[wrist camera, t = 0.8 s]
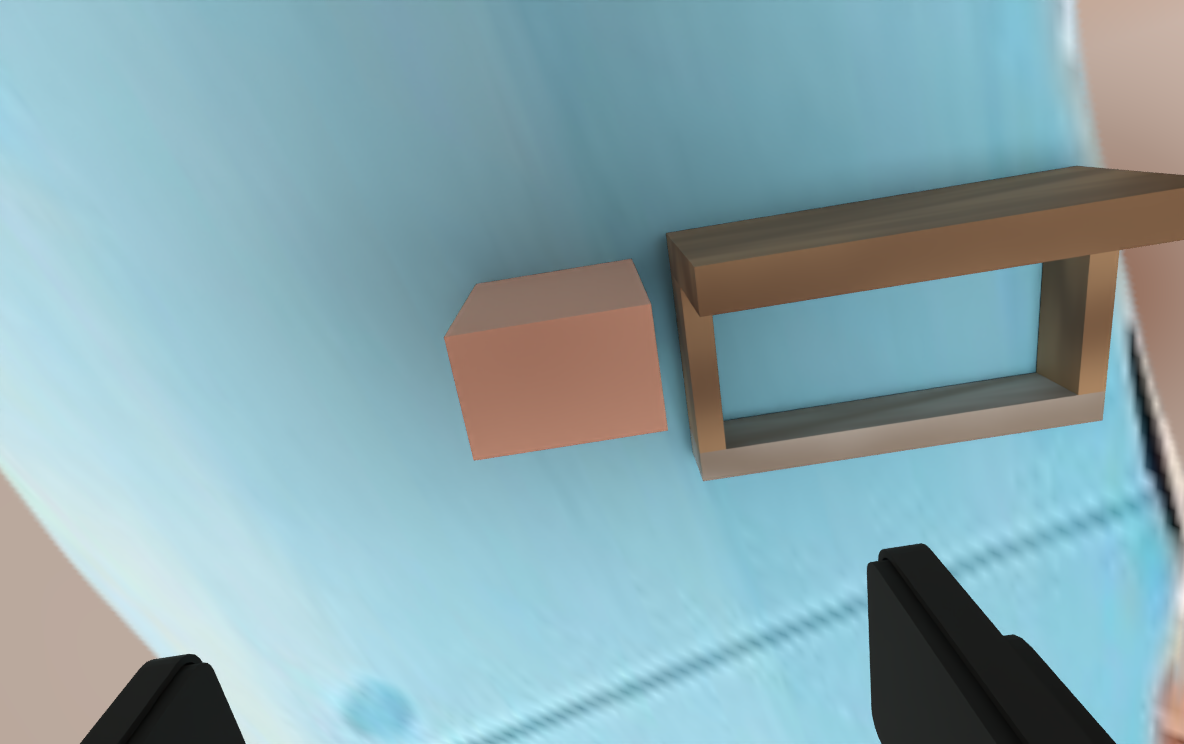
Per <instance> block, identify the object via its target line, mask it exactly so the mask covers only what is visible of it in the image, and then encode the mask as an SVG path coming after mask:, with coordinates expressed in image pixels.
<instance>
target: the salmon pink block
mask: <svg viewBox="0 0 1184 744" xmlns="http://www.w3.org/2000/svg"><path fill="white" fill-rule="evenodd" d="M444 339H445V343H446V348H447V352H448V356H449V360H450V364H451V368H452V372H453V376H454V381H455V385H456V389H457V393H458V397H459V401H460V405H461V410H462V414H463V418H464V422H465V426H466V430H467V434H468V438H469V443H470V447H471V451H472V455H473V459H474V460H481V459H487V458H494V457H500V456H506V455H513V454H519V453H526V452H532V451H539V450H545V449H551V448H558V447H564V446H571V445H577V444H584V443H590V442H596V441H603V440H609V439H616V438H622V437H629V436H635V435H642V434H648V433H654V432H661V431H667V430H668V427H667V420H666V412H665V405H664V398H663V390H662V383H661V375H660V368H659V360H658V353H657V345H656V338H655V330H654V323H653V315H652V308H651V303H650V300H649V298H648V296H647V293H646V291H645V289H644V286H643V284H642V282H641V279H640V277H639V275H638V272H637V270H636V268H635V265H634V263H633V261H632V259H626V260H620V261H614V262H608V263H602V264H596V265H590V266H583V267H577V268H571V269H565V270H559V271H553V272H547V273H540V274H534V275H528V276H522V277H516V278H510V279H504V280H498V281H491V282H485V283H479V284H476V285H475V286H474V288H473V290H472V291H471V293H470V295H469V296H468V298H467V300H466V301H465V303H464V305H463V306H462V308H461V310H460V311H459V313H458V315H457V316H456V318H455V320H454V321H453V323H452V325H451V326H450V328H449V330H448V331H447V333H446V335H445V336H444Z"/></svg>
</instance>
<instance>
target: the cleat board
mask: <svg viewBox="0 0 1184 744" xmlns="http://www.w3.org/2000/svg"><path fill="white" fill-rule="evenodd" d="M666 237H667V245H668V253H669V262H670V270H671V278H672V286H673V294H674V303H675V311H676V319H677V327H678V335H679V344H680V352H681V360H682V368H683V376H684V385H685V393H686V401H687V409H688V417H689V425H690V434H691V442H692V450H693V454H694V457H695V460H696V463H697V465H698V468H699V471H700V474H701V476H702V479H703V481H708V480H714V479H721V478H727V477H734V476H740V475H747V474H753V473H760V472H767V471H773V470H780V469H786V468H793V467H799V466H806V465H812V464H819V463H826V462H832V461H839V460H845V459H852V458H858V457H865V456H871V455H878V454H885V453H891V452H898V451H904V450H911V449H917V448H924V447H930V446H937V445H944V444H950V443H957V442H963V441H970V440H976V439H983V438H989V437H996V436H1003V435H1009V434H1016V433H1022V432H1029V431H1035V430H1042V429H1048V428H1055V427H1061V426H1068V425H1075V424H1081V423H1088V422H1094V421H1101V420H1103V410H1104V400H1105V390H1106V380H1107V370H1108V359H1109V349H1110V339H1111V329H1112V319H1113V309H1114V299H1115V289H1116V278H1117V268H1118V258H1119V250H1123V249H1129V248H1136V247H1142V246H1148V245H1154V244H1160V243H1167V242H1173V241H1180V240H1184V175H1176V174H1164V173H1152V172H1141V171H1129V170H1118V169H1106V168H1094V167H1083V166H1073V167H1067V168H1061V169H1055V170H1048V171H1042V172H1036V173H1030V174H1024V175H1018V176H1012V177H1006V178H1000V179H994V180H987V181H981V182H975V183H969V184H963V185H957V186H951V187H945V188H939V189H932V190H926V191H920V192H914V193H908V194H902V195H896V196H890V197H884V198H877V199H871V200H865V201H859V202H853V203H847V204H841V205H835V206H829V207H823V208H816V209H810V210H804V211H798V212H792V213H786V214H780V215H774V216H768V217H761V218H755V219H749V220H743V221H737V222H731V223H725V224H719V225H713V226H707V227H700V228H694V229H688V230H682V231H676V232H670V233H666ZM1042 262H1043V272H1042V288H1041V305H1040V321H1039V337H1038V353H1037V369H1036V373H1030V374H1024V375H1017V376H1011V377H1004V378H998V379H991V380H985V381H979V382H972V383H966V384H959V385H953V386H946V387H940V388H933V389H927V390H920V391H914V392H908V393H901V394H895V395H888V396H882V397H875V398H869V399H862V400H856V401H850V402H843V403H837V404H830V405H824V406H817V407H811V408H804V409H798V410H791V411H785V412H779V413H772V414H766V415H759V416H753V417H746V418H740V419H733V420H727V421H723V414H722V405H721V395H720V385H719V376H718V366H717V356H716V347H715V337H714V327H713V318H712V315H716V314H723V313H729V312H735V311H742V310H748V309H754V308H760V307H767V306H773V305H779V304H785V303H792V302H798V301H804V300H810V299H817V298H823V297H829V296H835V295H842V294H848V293H854V292H860V291H867V290H873V289H879V288H885V287H892V286H898V285H904V284H910V283H917V282H923V281H929V280H936V279H942V278H948V277H954V276H961V275H967V274H973V273H979V272H986V271H992V270H998V269H1004V268H1011V267H1017V266H1023V265H1029V264H1036V263H1042Z"/></svg>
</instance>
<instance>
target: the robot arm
mask: <svg viewBox="0 0 1184 744" xmlns="http://www.w3.org/2000/svg"><path fill="white" fill-rule="evenodd" d="M867 589H868V619H869V648H870V678H871V707H872V716H873V721H874V725H875V729H876V731H877V734H878V737H879V739H880V741H881V744H1116V743H1115V742H1114V741H1113V739H1112V738H1111V737H1110V736H1109V735H1108V734H1107V733H1106V731H1105V730H1104V729H1103V728H1102V727H1101V726H1100V725H1099V723H1098V722H1097V721H1096V720H1095V719H1094V718H1093V717H1092V715H1091V714H1090V713H1089V712H1088V711H1087V710H1086V709H1085V707H1084V706H1083V705H1082V704H1081V703H1080V702H1079V701H1078V699H1077V698H1076V697H1075V696H1074V695H1073V694H1072V693H1071V691H1070V690H1069V689H1068V688H1067V687H1066V686H1065V685H1064V683H1063V682H1062V681H1061V680H1060V679H1059V678H1058V677H1057V675H1056V674H1055V673H1054V672H1053V671H1052V670H1051V669H1050V667H1049V666H1048V665H1047V664H1046V663H1045V662H1044V661H1043V659H1042V658H1041V657H1040V656H1039V655H1038V654H1037V653H1036V651H1035V650H1034V649H1033V648H1032V647H1031V646H1030V645H1029V644H1028V643H1027V642H1026V641H1024V640H1023V639H1022V638H1020V637H1018V636H1016V635H1014V634H1013V635H1006V636H1003V635H1002V634H1001V633H1000V632H999V630H998V629H997V628H996V627H995V626H994V624H993V623H992V622H991V621H990V620H989V618H988V617H987V616H986V615H985V614H984V612H983V611H982V610H981V609H980V608H979V606H978V605H977V604H976V603H975V602H974V601H973V599H972V598H971V597H970V596H969V595H968V593H967V592H966V591H965V590H964V589H963V587H962V586H961V585H960V584H959V583H958V581H957V580H956V579H955V578H954V577H953V576H952V574H951V573H950V572H949V571H948V570H947V568H946V567H945V566H944V565H943V564H942V562H941V561H940V560H939V559H938V558H937V556H936V555H935V554H934V553H933V552H932V551H931V549H930V548H929V547H928V546H926V545H925V544H922V543H921V544H914V545H908V546H901V547H894V548H888V549H882V550H881V551H880V553H879V556H878V561H875V562H870V563H868V566H867ZM80 744H246V743H245V741H244V738H243V736H242V734H241V731H240V729H239V727H238V725H237V722H236V720H235V718H234V715H233V713H232V711H231V708H230V706H229V704H228V702H227V699H226V697H225V695H224V692H223V690H222V688H221V685H220V683H219V681H218V679H217V676H216V674H215V672H214V670H213V668H212V666H211V665H210V664H208V663H203V662H202V661H201V659H200V658H199V657H198V656H196V655H195V654H186V655H179V656H172V657H166V658H159V659H153V660H150V661H148V662H146V663H145V664H144V665H143V666H142V667H141V668H140V669H139V670H138V672H137V673H136V674H135V675H134V677H133V678H132V679H131V680H130V682H129V683H128V684H127V685H126V687H125V688H124V689H123V691H122V692H121V693H120V694H119V695H118V697H117V698H116V699H115V700H114V702H113V703H112V704H111V705H110V707H109V708H108V709H107V711H106V712H105V713H104V714H103V715H102V717H101V718H100V719H99V720H98V722H97V723H96V724H95V725H94V727H93V728H92V729H91V730H90V732H89V733H88V734H87V735H86V737H85V738H84V739H83V740H82V742H81V743H80Z"/></svg>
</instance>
